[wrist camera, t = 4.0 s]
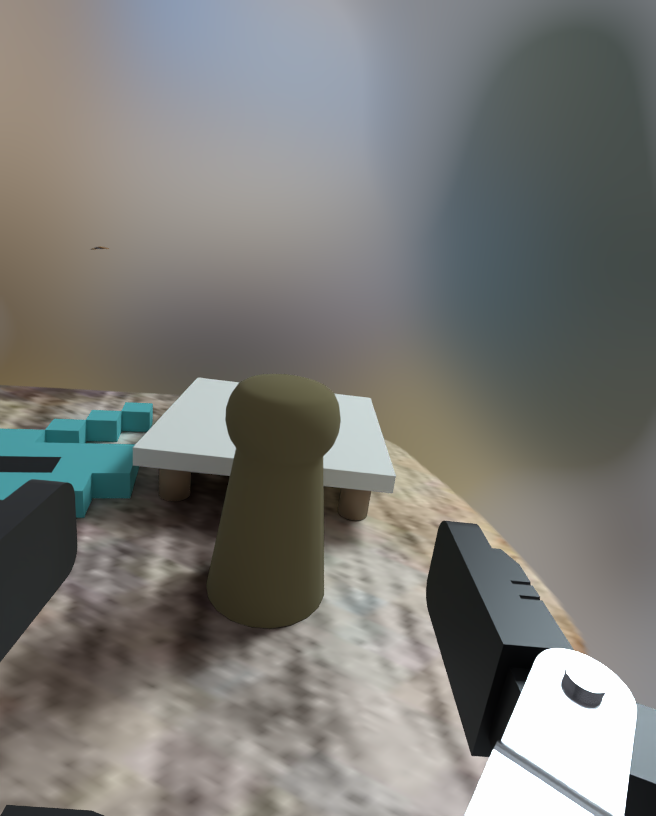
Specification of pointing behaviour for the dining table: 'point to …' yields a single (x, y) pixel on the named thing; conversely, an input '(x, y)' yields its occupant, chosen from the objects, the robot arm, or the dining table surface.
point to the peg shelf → (214, 451)
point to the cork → (274, 502)
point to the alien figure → (76, 454)
